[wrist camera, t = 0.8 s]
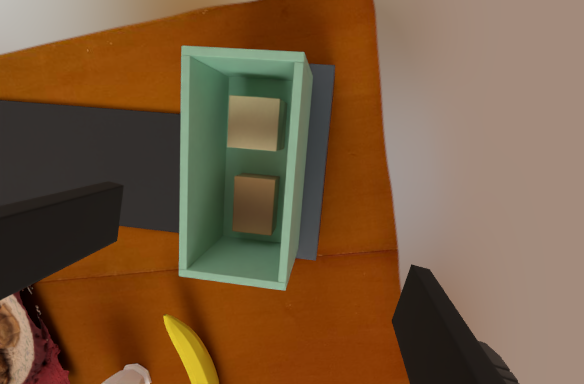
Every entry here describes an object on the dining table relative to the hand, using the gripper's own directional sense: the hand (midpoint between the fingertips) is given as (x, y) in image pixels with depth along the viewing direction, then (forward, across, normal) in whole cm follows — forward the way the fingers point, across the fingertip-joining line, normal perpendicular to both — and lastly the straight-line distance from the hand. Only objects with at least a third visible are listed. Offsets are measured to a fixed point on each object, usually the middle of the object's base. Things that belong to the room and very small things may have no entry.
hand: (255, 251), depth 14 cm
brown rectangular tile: (+16, -3, -2) cm, 16 cm away
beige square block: (+16, -4, +5) cm, 17 cm away
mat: (+22, -25, -5) cm, 34 cm away
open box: (+16, -4, +1) cm, 17 cm away
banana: (+22, -7, -27) cm, 35 cm away
